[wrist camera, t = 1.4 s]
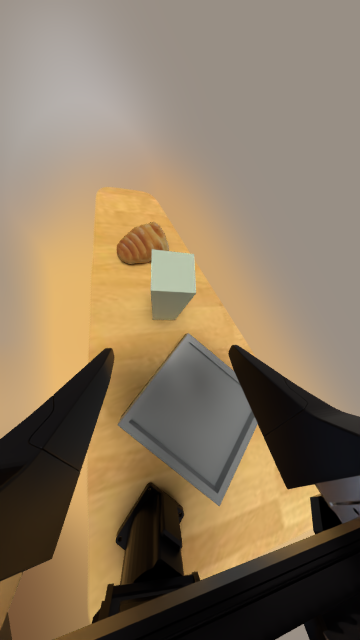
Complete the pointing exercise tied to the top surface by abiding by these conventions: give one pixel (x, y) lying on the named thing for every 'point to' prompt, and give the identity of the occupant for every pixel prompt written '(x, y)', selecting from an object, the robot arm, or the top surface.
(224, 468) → the tray
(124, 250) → the pastry
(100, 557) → the top surface
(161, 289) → the block
